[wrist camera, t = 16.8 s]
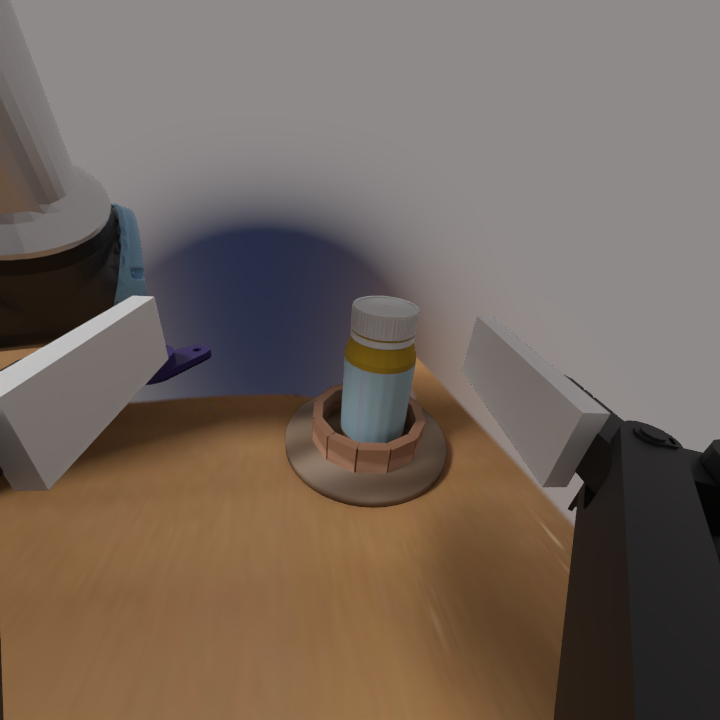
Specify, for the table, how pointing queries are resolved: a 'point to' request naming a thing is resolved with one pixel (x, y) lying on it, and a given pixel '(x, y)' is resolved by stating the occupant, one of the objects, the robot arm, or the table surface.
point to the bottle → (378, 369)
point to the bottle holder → (363, 455)
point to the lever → (180, 362)
